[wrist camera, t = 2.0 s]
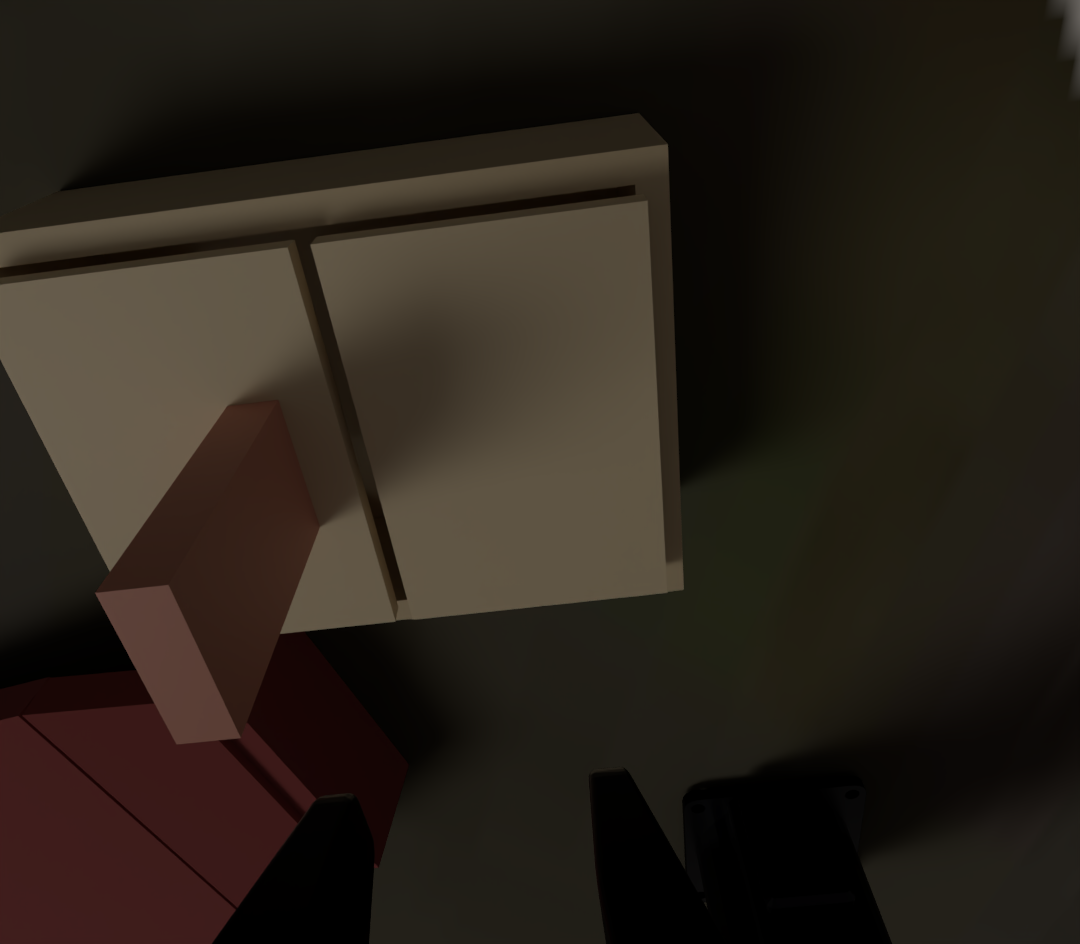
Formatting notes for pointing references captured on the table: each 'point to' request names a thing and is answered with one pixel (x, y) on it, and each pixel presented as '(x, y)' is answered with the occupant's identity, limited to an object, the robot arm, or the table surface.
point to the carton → (169, 800)
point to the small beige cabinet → (371, 203)
